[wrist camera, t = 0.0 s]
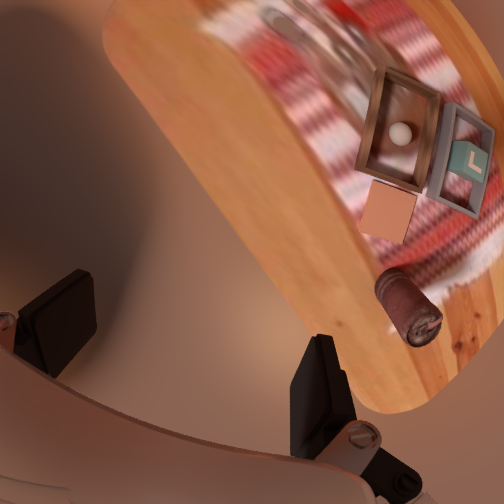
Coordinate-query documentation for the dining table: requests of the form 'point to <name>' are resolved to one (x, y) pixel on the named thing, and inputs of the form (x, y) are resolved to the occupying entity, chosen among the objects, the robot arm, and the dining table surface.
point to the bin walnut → (427, 132)
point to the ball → (400, 133)
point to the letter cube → (467, 161)
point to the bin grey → (443, 154)
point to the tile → (387, 212)
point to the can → (408, 308)
